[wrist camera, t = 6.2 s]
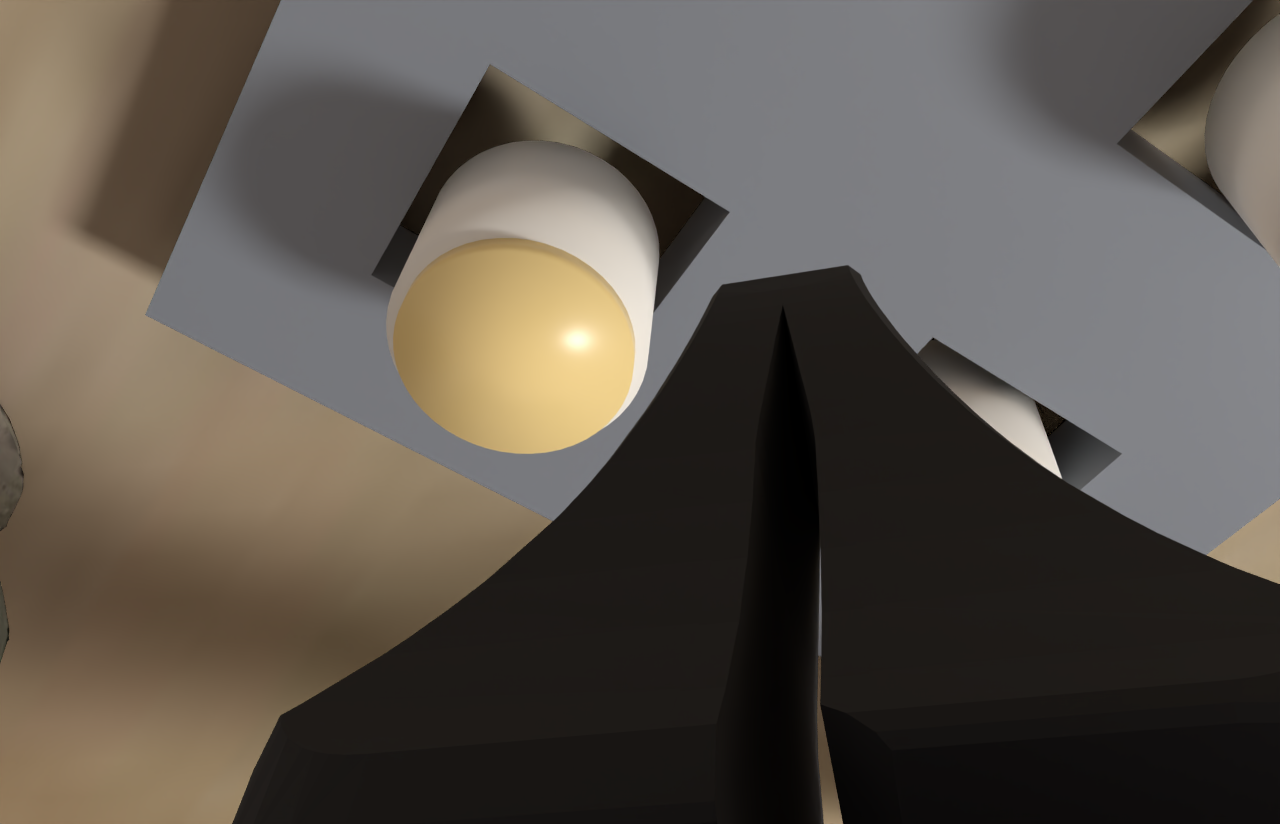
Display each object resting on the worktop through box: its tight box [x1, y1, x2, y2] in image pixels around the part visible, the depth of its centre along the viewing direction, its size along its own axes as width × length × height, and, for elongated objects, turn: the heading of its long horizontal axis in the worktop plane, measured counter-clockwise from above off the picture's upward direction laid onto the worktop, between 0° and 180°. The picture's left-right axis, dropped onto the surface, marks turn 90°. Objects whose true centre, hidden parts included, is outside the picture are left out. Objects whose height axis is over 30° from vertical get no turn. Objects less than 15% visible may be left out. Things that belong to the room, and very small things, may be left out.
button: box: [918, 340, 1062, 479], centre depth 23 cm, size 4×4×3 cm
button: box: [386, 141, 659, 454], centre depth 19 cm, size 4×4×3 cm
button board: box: [145, 0, 1280, 657], centre depth 20 cm, size 20×20×2 cm
